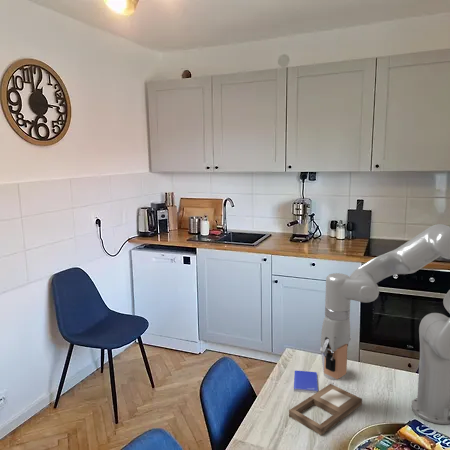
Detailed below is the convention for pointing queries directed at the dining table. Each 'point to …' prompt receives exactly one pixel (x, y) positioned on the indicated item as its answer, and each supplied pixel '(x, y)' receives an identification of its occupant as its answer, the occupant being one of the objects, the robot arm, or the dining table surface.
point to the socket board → (326, 407)
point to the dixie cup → (323, 367)
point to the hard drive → (305, 382)
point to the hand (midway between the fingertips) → (335, 366)
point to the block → (338, 363)
